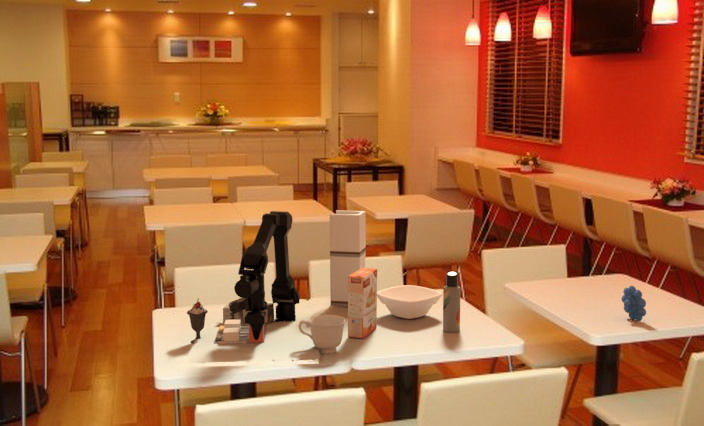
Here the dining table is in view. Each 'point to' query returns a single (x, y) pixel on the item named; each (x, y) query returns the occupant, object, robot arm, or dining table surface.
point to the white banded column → (345, 251)
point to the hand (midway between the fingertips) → (256, 337)
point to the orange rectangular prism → (251, 337)
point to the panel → (243, 335)
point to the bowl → (409, 300)
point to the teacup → (325, 331)
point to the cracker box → (362, 302)
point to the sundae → (197, 318)
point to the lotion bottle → (451, 303)
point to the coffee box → (240, 315)
